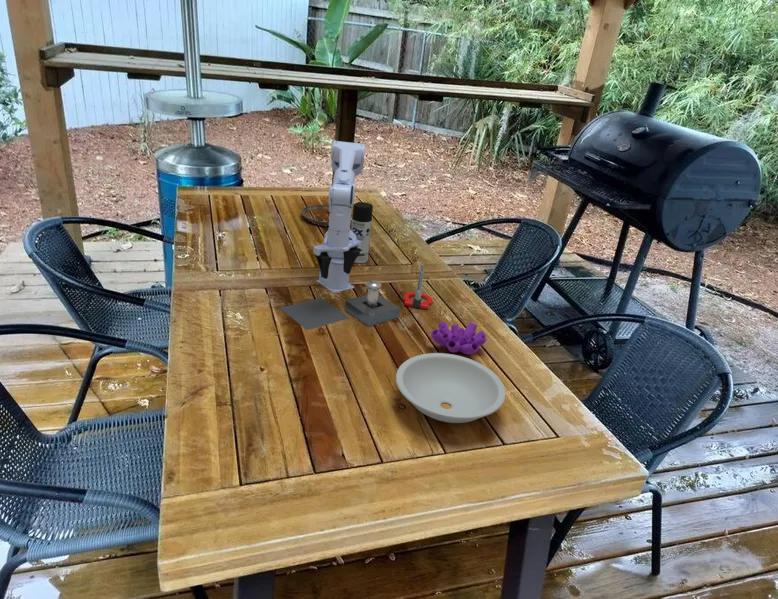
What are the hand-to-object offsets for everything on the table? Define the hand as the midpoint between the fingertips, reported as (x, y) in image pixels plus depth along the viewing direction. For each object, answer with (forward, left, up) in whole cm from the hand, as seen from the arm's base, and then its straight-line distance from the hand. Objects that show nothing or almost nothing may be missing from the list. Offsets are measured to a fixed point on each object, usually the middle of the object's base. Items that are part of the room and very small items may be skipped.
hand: (335, 275), depth 156 cm
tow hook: (+9, +25, -11) cm, 29 cm away
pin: (+9, +7, -10) cm, 15 cm away
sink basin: (+51, -5, -11) cm, 52 cm away
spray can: (-25, +28, -11) cm, 40 cm away
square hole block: (+9, +7, -10) cm, 15 cm away
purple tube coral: (+35, +15, -11) cm, 39 cm away
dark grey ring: (-65, +42, -11) cm, 79 cm away
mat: (+1, -7, -10) cm, 12 cm away
